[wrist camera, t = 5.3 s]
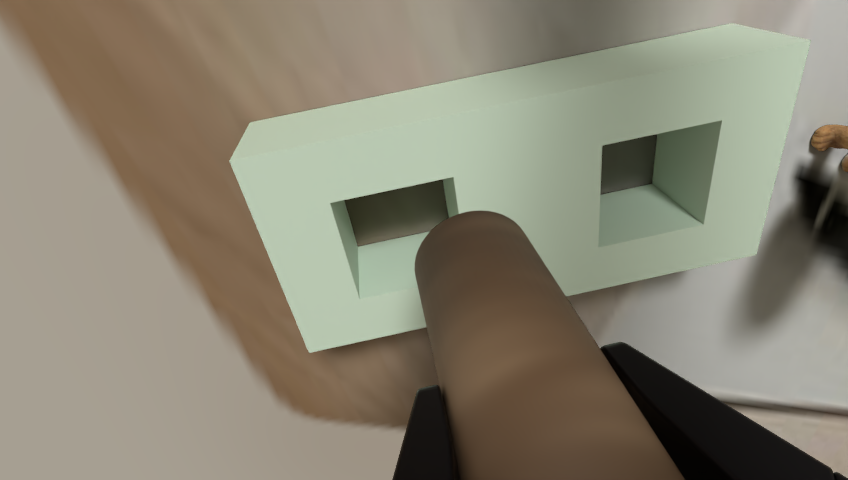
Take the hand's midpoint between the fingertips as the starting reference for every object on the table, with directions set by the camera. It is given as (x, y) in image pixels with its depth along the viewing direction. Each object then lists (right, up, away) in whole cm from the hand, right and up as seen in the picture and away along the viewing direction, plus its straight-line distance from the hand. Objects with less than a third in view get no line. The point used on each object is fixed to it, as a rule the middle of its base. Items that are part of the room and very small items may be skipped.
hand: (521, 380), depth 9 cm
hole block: (+2, +6, +13) cm, 14 cm away
